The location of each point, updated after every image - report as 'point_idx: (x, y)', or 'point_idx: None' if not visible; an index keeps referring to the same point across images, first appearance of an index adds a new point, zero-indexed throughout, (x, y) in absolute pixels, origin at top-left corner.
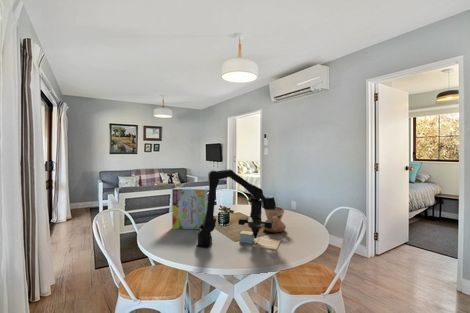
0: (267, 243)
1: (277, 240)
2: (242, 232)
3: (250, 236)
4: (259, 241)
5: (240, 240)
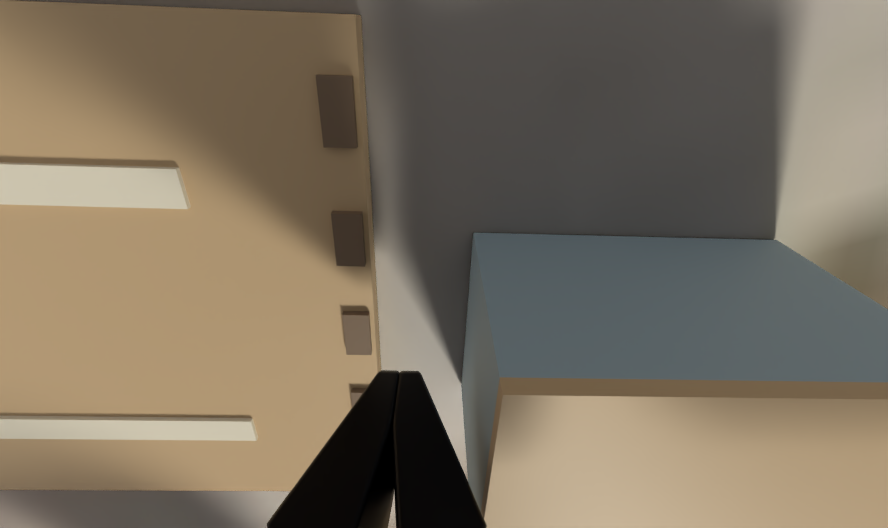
0: (101, 300)
1: (36, 472)
2: (881, 482)
3: (547, 343)
4: (319, 344)
5: (778, 253)
